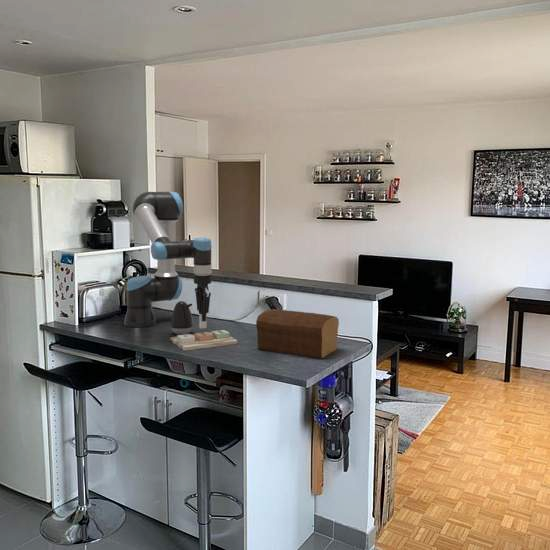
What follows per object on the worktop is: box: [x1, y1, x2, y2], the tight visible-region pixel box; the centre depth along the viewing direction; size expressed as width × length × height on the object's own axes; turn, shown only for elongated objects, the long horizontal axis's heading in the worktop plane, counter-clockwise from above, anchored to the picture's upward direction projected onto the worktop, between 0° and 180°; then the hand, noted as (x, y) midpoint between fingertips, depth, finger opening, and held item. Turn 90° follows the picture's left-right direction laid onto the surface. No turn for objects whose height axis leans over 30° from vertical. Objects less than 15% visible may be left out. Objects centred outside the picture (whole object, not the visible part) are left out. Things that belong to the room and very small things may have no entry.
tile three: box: [211, 329, 231, 339], centre depth 254 cm, size 6×6×3 cm
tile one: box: [176, 333, 195, 344], centre depth 247 cm, size 6×6×3 cm
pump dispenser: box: [170, 300, 194, 335], centre depth 265 cm, size 10×10×15 cm
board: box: [169, 332, 238, 351], centre depth 251 cm, size 18×24×2 cm
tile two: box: [194, 331, 213, 342], centre depth 251 cm, size 6×6×3 cm
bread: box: [255, 308, 340, 359], centre depth 239 cm, size 18×30×16 cm, turn 61°
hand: (202, 327), depth 250 cm, fingers closed
